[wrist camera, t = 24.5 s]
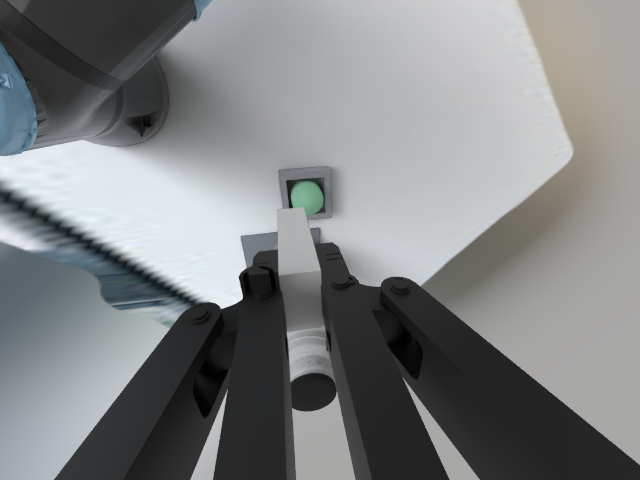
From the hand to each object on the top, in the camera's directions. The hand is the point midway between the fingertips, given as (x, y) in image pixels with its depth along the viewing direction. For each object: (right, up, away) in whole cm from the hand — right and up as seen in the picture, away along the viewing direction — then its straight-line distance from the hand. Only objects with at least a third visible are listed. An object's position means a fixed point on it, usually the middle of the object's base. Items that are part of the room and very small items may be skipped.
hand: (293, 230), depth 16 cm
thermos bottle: (-3, -3, +35) cm, 35 cm away
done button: (-1, +7, +30) cm, 31 cm away
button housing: (-1, +8, +30) cm, 31 cm away
